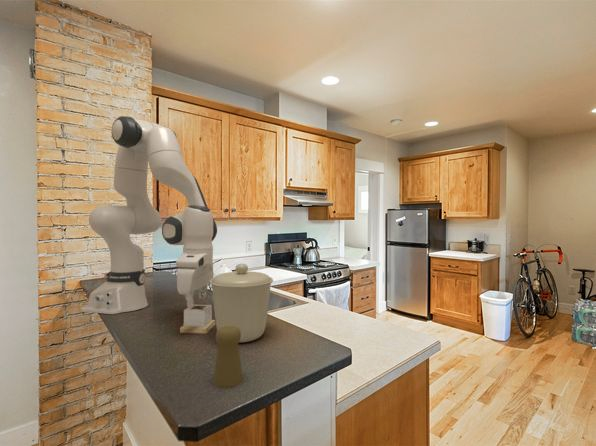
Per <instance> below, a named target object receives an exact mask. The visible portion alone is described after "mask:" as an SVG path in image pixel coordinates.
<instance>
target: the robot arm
mask: <svg viewBox="0 0 596 446" xmlns="http://www.w3.org/2000/svg"><path fill="white" fill-rule="evenodd" d="M111 137H112V140H113V141H114V142H115V144H116V145H118V148H117V152H116V157H115V163H114V173H113V175H114V176H113V188H114V190H115V191H116V193H117V194H119V195H121V196H122V197H124V198H125V201H126V205H113V204H112V205H111V204H110V205H102V206H97V207H95V208H93V209H92V211H91V212H90V214H89V217H88V224H89V226H90V228H91V230H92V231H94V233H96V234H97V235H99V236H100V237H101V238H102V239H103V240H104V242H105V243H106V245H107V247H108V250H109V256H110V271H109V272H106V273H104V274H103V275H104V276H103V278H105V282H104V283H102V284H101V285H99V286H98V287H97V288H95V289H94V290H93V291H91V293H90V294H89V297H88V302H87V304H85V305H83V306H82V307H81V308H80V312H84V313H94V314H107V315H116V314H121V313H127V312H133V311H137V310H140V309H141V310H142V309H144V308H146V307H148V306H149V303H148V300H147V295H146V290H145V280H146V270H145V269H144V266H145V265H144V262H145V261H144V259H145V255H144V254H145V253H144V250H143V248H142V247H141V246H139V245H138V244H135V243H134V242H133V241H132V239H131V236H130V235H147V234H151V233H154V232H157V231H158V230H159V228H160V226H161V224H162V216H161V214H160V213H159V211H158V210H157V209H156V208H155V207H154V206H153V205H152V203H151V201H150V198H149V195H148V173H149V172H148V171H149V169H150V172H151V174H152V176H153V177H154V178H155V179H156V180H157V181H158V182H160V183H161V184H164V185H166V186H169V187H170V188H172V189H174V190H176V191H178V192H180V193H181V194H182V195H183V196H184V197H185V199H186V200H187V204H188V205H187V206H186V207H185V208H184V210H183V211H181V212H179V213H178V214H175V215H172V216H170V215H169V216H168V217H167V218H166V219H165V220H164V222H163V224H162V226H161V234H162V235H161V236H162V237H163V240H165V242H166V243H167V244H168V245H172V246H183V247H182V253H181V254H180V255H179V257H178V258H177V259H176V260H175V267H176V268H177V271H176V288H177V292H178V295H184V297H185V299H186V300H185V301H186V306H187V308H188V307H193V306H194V305H196V304H195V302H196V301H195V299H194V295H195V292H197V291H198V290H199V292H198V298H199V299H202V300H203V299H205V298H206V297H207V291H208V287H209V284H210V283H209V281H210V280H211V279H213V278H214V263H213V261H214V260H213V257H214V255H213V253H214V245H213V241H215V239H216V236H217V234H218V227H217V223H216V221H215V219H214V217H213V213H212V210H211V209H210V207H208V205H207V202H206V200H205V197H204V195H203V192H202V189H201V187H200V184H199V182H198V179H197V178H196V177H195V175H194V174H193V173H192V172H191V171H190V170H189V168H188V166H187V164H186V163H185V160H184V156H183V153H182V149H181V145H180V143H179V140H178V138H177V134H176V132H175V131H174V130H173V129H171V128H169V127H167V126H165V125H164V126H163V125H161V124H159V123H156V122H152V121H149V120H144V119H139V118H135V117H132V116H126V115H124V116H118V117H117V118H116V119H115V120H114V121H113V123H112V126H111Z"/></svg>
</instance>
